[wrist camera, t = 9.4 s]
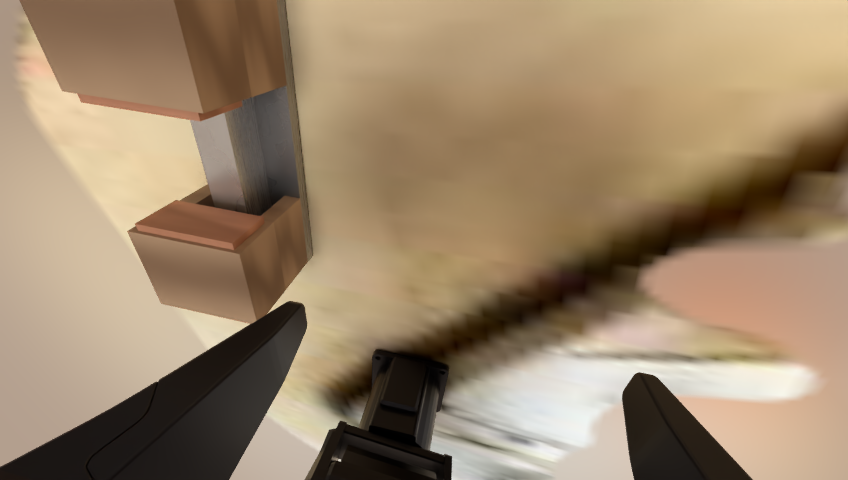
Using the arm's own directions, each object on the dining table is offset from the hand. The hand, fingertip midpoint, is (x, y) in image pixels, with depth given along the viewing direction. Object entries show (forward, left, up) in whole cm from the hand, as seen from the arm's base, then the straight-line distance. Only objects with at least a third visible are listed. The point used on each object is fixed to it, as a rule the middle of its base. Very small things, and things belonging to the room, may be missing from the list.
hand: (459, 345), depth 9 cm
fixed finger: (-6, +14, -11) cm, 19 cm away
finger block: (+6, +14, -11) cm, 19 cm away
